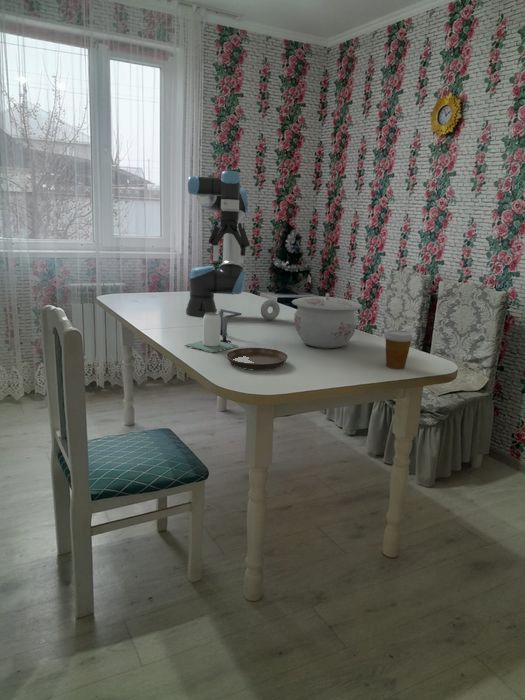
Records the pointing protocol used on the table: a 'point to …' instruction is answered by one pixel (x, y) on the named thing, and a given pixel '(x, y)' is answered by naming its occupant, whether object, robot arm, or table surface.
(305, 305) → the chamber pot
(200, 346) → the mat
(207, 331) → the can
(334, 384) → the table surface
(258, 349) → the plant saucer
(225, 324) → the dark grey angled piece
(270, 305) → the donut
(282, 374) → the table surface
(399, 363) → the disposable coffee cup
